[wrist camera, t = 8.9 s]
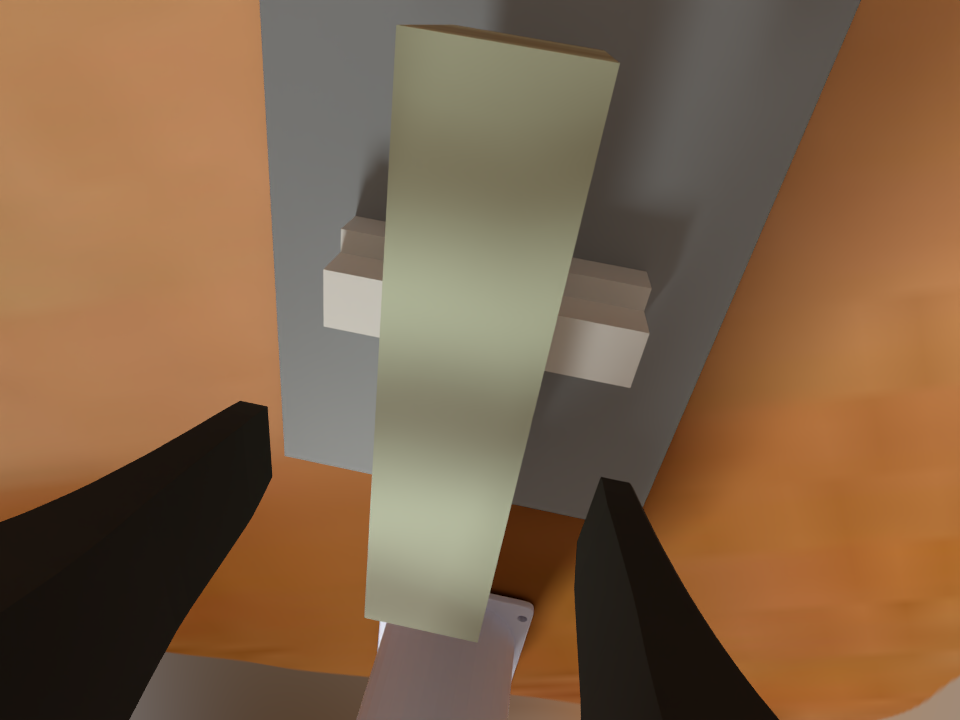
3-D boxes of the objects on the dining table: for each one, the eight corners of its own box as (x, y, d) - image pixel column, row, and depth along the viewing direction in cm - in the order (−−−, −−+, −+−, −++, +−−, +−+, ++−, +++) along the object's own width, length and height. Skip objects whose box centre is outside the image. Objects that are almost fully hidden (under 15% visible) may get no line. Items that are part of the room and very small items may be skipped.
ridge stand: (631, 519, 25) (639, 585, 22) (290, 447, 26) (253, 502, 23) (852, -4, 15) (924, -11, 12) (264, -102, 15) (190, -133, 12)
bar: (496, 520, 21) (477, 642, 17) (405, 501, 22) (364, 617, 17) (604, 50, 13) (619, 62, 9) (453, 24, 13) (396, 24, 9)
